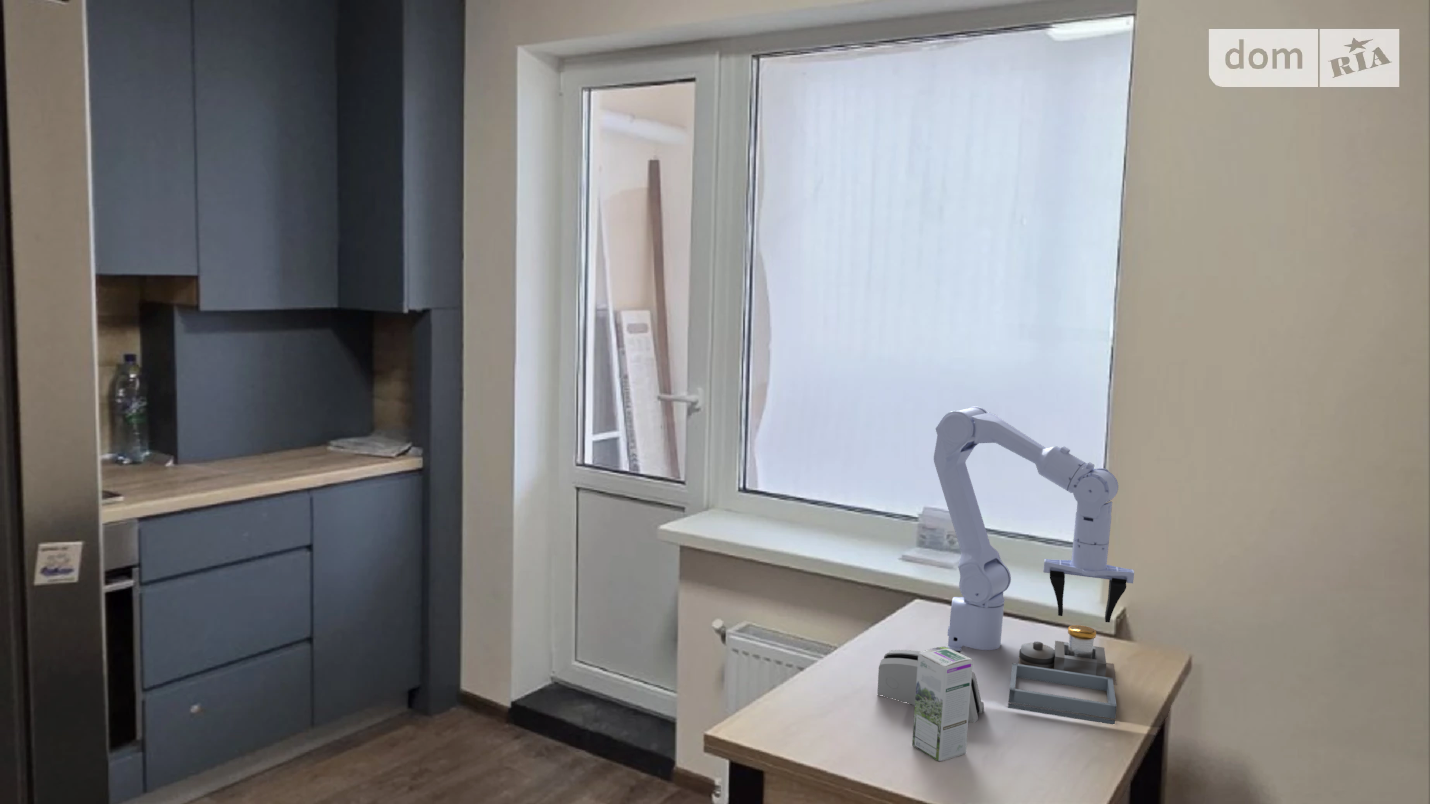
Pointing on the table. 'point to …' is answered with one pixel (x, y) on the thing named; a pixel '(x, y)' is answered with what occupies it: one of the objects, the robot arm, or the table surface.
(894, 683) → the grey toaster
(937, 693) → the syrup box
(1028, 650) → the board
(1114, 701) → the tray
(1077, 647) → the gold-rimmed cylinder
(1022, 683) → the table surface
